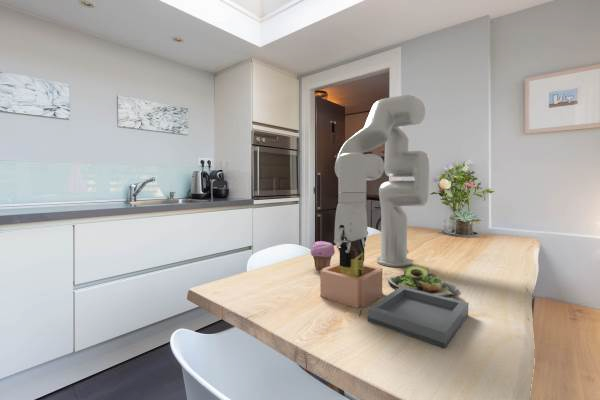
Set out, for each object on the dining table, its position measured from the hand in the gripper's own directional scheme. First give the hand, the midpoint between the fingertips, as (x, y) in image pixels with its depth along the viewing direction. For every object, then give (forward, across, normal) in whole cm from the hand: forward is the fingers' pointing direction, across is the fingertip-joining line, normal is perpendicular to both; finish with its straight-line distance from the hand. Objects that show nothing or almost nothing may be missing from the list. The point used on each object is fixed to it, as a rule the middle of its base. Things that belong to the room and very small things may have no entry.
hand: (352, 263), depth 79 cm
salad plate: (+10, -19, +12) cm, 24 cm away
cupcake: (+9, -14, -21) cm, 27 cm away
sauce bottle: (+9, 0, 0) cm, 9 cm away
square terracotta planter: (+9, 0, 0) cm, 9 cm away
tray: (+9, +2, +19) cm, 21 cm away
